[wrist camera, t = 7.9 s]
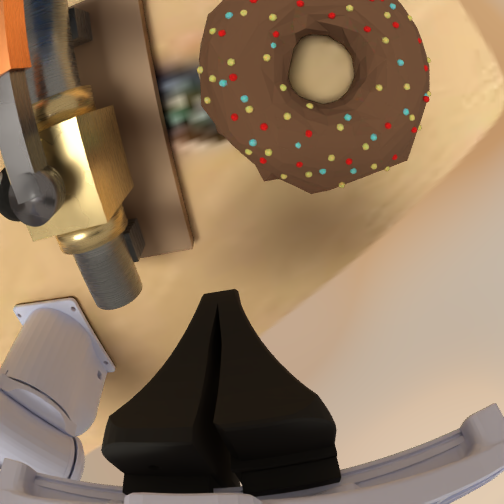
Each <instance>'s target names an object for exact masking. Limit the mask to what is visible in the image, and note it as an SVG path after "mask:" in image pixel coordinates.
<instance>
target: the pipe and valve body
mask: <svg viewBox="0 0 504 504" xmlns="http://www.w3.org/2000/svg"><path fill="white" fill-rule="evenodd" d="M23 3H24V15H25V24H26V33H27V41H28V48H29V54H30V60H31V66H32V67H31V68H29V69H27V70H25V74H26V79H27V84H28V89H29V94H30V99H31V103H32V108H33V112H34V116H35V120H36V124H37V128H38V132H39V135H40V139H41V143H42V146H43V150H44V153H45V156H46V160H47V163H48V165H49V166H51V167H53V168H54V169H55V170H56V171H57V172H58V173H59V174H60V176H61V177H62V179H63V182H64V185H65V192H66V194H65V200H64V203H63V205H62V207H61V208H60V209H59V210H58V211H57V212H56V213H55V214H54V215H53V216H52V217H51V218H50V220H49V221H48V222H46V223H45V224H44V225H42V226H38V227H32V226H28V225H26V226H27V228H28V230H29V233H30V235H31V237H32V240H33V242H34V241H37V240H41V239H45V238H49V237H53V236H55V237H56V239H57V241H58V244H59V246H60V248H61V251H62V252H63V253H65V254H73V257H74V259H75V261H76V263H77V265H78V268H79V270H80V272H81V274H82V276H83V278H84V280H85V283H86V285H87V287H88V289H89V291H90V293H91V295H92V297H93V299H94V301H95V303H96V305H97V306H98V307H99V308H101V309H105V310H112V309H117V308H120V307H122V306H125V305H127V304H128V303H130V302H131V301H133V300H134V299H135V298H136V297H137V296H138V295H139V294H140V292H141V290H142V282H141V280H140V277H139V275H138V272H137V270H136V267H135V265H134V262H138V261H139V259H140V257H141V254H142V252H143V249H144V247H145V241H144V238H143V235H142V232H141V229H140V226H139V223H138V219H137V218H134V219H129V220H127V217H126V214H125V211H124V208H123V204H122V202H123V200H124V199H125V198H126V196H127V195H128V194H129V192H130V191H131V190H132V188H133V187H134V184H133V181H132V177H131V174H130V170H129V167H128V163H127V159H126V156H125V152H124V148H123V144H122V140H121V136H120V132H119V128H118V124H117V120H116V116H115V111H114V107H113V105H111V106H108V107H105V108H101V109H98V110H96V106H95V102H94V97H93V93H92V88H91V85H84V86H81V83H80V78H79V73H78V68H77V62H76V57H75V51H74V48H75V47H78V46H80V45H82V44H85V43H87V42H90V41H93V36H92V30H91V23H90V16H89V12H86V11H84V10H81V9H78V8H76V7H73V8H71V9H68V1H67V0H23ZM0 151H1V150H0ZM1 155H2V154H1ZM2 158H3V157H2ZM3 162H4V160H3ZM4 165H5V164H4ZM5 168H6V167H5ZM6 171H7V170H6ZM7 174H8V173H7ZM8 177H9V176H8ZM9 180H10V179H9ZM10 183H11V182H10Z"/></svg>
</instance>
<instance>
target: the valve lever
mask: <svg viewBox="0 0 504 504" xmlns="http://www.w3.org/2000/svg"><path fill="white" fill-rule="evenodd" d="M31 67H32V66H31V60H30V54H29V48H28V41H27V33H26V24H25V15H24V3H23V0H0V150H1V154H2V157H3V160H4V164H5V167H6V170H7V173H8V176H9V179H10V182H11V185H10V188H9V202H10V206H11V208H12V211H13V212H14V214H15V215H16V217H17V218H18V219H19V220H20V221H21V222H23V223H24V224H26V225H28V226H32V227H38V226H42V225H44V224H45V223H46V222H48V221H49V220H50V218H51V217H52V216H53V215H54V214H55V213H56V212H57V211H58V210H59V209H60V208H61V207H62V205H63V203H64V200H65V194H66V192H65V185H64V182H63V179H62V177H61V176H60V174H59V173H58V172H57V171H56V170H55V169H54V168H53V167H51V166H49V165H48V163H47V160H46V156H45V153H44V150H43V146H42V143H41V139H40V135H39V132H38V128H37V124H36V120H35V116H34V112H33V108H32V103H31V99H30V94H29V89H28V84H27V79H26V74H25V70H27V69H29V68H31Z"/></svg>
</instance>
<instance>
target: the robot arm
mask: <svg viewBox="0 0 504 504" xmlns="http://www.w3.org/2000/svg"><path fill="white" fill-rule="evenodd" d="M73 307H74V308H73ZM13 311H14V313H15V314H16V316H17V318H18V319H19V321H20V322H21V324H22V325H23V327H22V329H21V330H20V332H19V334H18V336H17V338H16V339H15V341H14V343H13V345H12V347H11V349H10V350H9V352H8V354H7V356H6V358H5V360H4V362H3V364H2V366H1V368H0V469H1V471H0V504H449V503H451V502H453V501H455V500H457V499H459V498H461V497H463V496H465V495H467V494H469V493H470V492H472V491H474V490H476V489H478V488H479V487H481V486H483V485H485V484H486V483H488V482H490V481H491V480H493V479H494V478H495V477H497V476H498V475H499V474H500V473H501V472H503V471H504V417H503V415H502V413H501V412H500V410H499V408H498V406H497V404H496V403H493V404H491V405H489V406H488V407H486V408H484V409H482V410H480V411H478V412H476V413H474V414H472V415H470V416H469V417H468V418H467V419H466V420H465V421H464V422H463V424H462V425H461V427H460V428H459V429H457V430H454V431H452V432H450V433H448V434H445V435H443V436H441V437H439V438H436V439H434V440H432V441H429V442H426V443H424V444H421V445H419V446H416V447H413V448H411V449H408V450H405V451H402V452H399V453H396V454H394V455H391V456H387V457H384V458H382V459H378V460H375V461H371V462H368V463H365V464H361V465H358V466H354V467H350V468H346V469H342V470H340V469H339V465H338V461H337V457H336V456H337V451H336V447H335V437H336V425H335V422H334V421H333V418H332V416H331V414H330V412H329V411H328V409H327V408H326V406H325V405H324V403H323V402H322V400H321V399H320V398H319V396H318V395H317V394H316V393H314V392H313V391H311V390H310V389H309V388H307V387H306V386H305V385H303V384H302V383H301V382H300V381H299V380H297V379H296V378H295V377H294V376H293V375H292V374H291V373H289V371H287V369H286V368H285V367H284V366H282V365H281V364H280V363H279V362H278V360H277V359H276V358H275V357H274V356H273V355H272V354H271V352H270V351H269V350H268V349H267V347H266V346H265V345H264V344H263V342H262V341H261V340H260V338H259V337H258V335H257V334H256V332H255V331H254V329H253V327H252V326H251V324H250V322H249V320H248V318H247V316H246V315H245V312H244V310H243V308H242V306H241V302H240V297H239V293H238V291H237V290H236V289H232V290H226V291H220V292H213V293H207V294H204V295H203V296H202V298H201V301H200V303H199V305H198V308H197V310H196V312H195V314H194V316H193V318H192V320H191V322H190V324H189V326H188V328H187V330H186V331H185V333H184V335H183V337H182V338H181V340H180V342H179V343H178V345H177V347H176V348H175V350H174V351H173V353H172V354H171V356H170V357H169V358H168V360H167V361H166V362H165V364H164V365H163V366H162V368H161V369H160V370H159V371H158V372H157V374H156V375H155V376H154V377H153V378H152V379H151V380H150V382H149V383H148V384H147V385H146V386H145V387H144V388H143V389H142V390H141V391H140V392H138V393H137V394H136V395H135V396H134V397H133V398H132V399H131V400H130V401H128V402H127V403H126V404H125V405H123V406H122V407H121V408H119V409H118V410H117V411H116V412H114V413H113V414H112V415H110V416H109V419H108V422H107V425H106V429H105V433H104V438H103V444H102V449H101V451H102V453H103V455H104V457H105V458H106V459H107V460H108V461H109V462H110V463H112V464H113V465H114V466H115V467H117V468H118V469H119V470H120V471H122V472H123V473H124V482H123V486H113V485H104V484H96V483H90V482H83V481H80V479H81V477H82V473H83V470H84V463H85V456H84V451H83V446H82V443H81V441H80V439H79V438H78V437H76V436H79V435H81V434H83V433H84V432H85V431H87V430H88V428H89V427H90V426H91V425H92V423H93V422H94V420H95V417H96V414H97V410H98V406H99V402H100V398H101V394H102V390H103V386H104V382H105V379H106V375H107V372H114V371H115V366H114V364H113V362H112V361H111V359H110V358H109V356H108V355H107V353H106V351H105V350H104V348H103V347H102V345H101V343H100V342H99V340H98V338H97V337H96V335H95V333H94V332H93V330H92V328H91V326H90V325H89V323H88V321H87V319H86V318H85V316H84V314H83V312H82V310H81V309H80V307H79V305H78V303H77V301H76V300H75V299H74V298H63V299H57V300H50V301H43V302H36V303H29V304H21V305H15V306H14V308H13ZM240 482H241V484H242V486H241V487H240Z"/></svg>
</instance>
